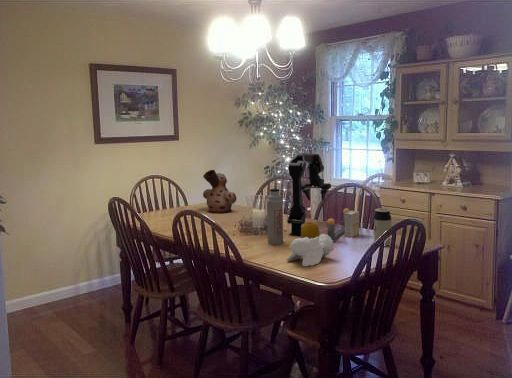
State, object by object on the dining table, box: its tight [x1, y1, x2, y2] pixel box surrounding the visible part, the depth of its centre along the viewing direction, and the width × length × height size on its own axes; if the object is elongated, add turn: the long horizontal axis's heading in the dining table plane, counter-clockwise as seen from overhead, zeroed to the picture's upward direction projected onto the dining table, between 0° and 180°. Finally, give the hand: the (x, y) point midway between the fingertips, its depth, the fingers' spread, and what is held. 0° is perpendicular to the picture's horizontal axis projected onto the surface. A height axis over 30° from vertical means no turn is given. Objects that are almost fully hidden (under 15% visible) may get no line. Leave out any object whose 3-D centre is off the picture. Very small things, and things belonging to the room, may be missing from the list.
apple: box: [300, 221, 321, 239], centre depth 248 cm, size 10×10×12 cm
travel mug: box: [373, 207, 392, 247], centre depth 243 cm, size 8×8×18 cm
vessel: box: [202, 169, 238, 214], centre depth 337 cm, size 29×22×30 cm
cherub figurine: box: [286, 233, 335, 268], centre depth 219 cm, size 13×12×20 cm
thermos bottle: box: [266, 188, 284, 245], centre depth 252 cm, size 8×8×28 cm
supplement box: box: [344, 210, 360, 238], centre depth 263 cm, size 8×5×13 cm, turn 141°
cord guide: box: [326, 207, 351, 243], centre depth 266 cm, size 34×4×12 cm, turn 154°
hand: (316, 200), depth 290 cm, fingers open, 9 cm apart
